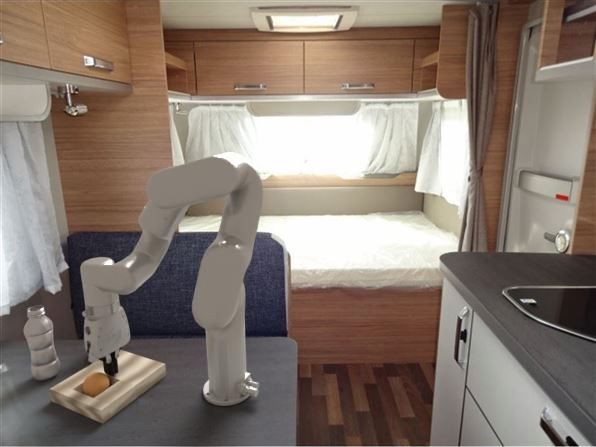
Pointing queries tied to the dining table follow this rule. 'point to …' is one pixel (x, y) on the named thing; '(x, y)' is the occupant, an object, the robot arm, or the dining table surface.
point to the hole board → (122, 389)
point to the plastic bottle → (41, 344)
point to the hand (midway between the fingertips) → (111, 372)
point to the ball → (95, 384)
